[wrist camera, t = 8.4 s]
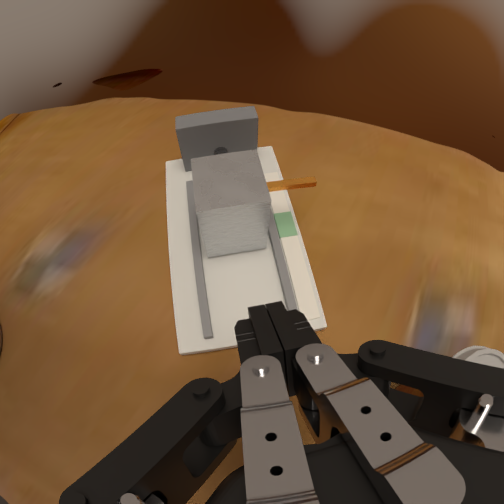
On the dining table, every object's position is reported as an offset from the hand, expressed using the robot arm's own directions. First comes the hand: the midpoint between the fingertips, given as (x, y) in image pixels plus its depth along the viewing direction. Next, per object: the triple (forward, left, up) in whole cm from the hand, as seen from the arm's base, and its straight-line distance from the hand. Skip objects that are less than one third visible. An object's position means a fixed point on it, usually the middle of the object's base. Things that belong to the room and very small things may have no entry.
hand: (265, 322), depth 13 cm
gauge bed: (0, +14, -16) cm, 21 cm away
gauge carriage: (+3, +16, -14) cm, 22 cm away
